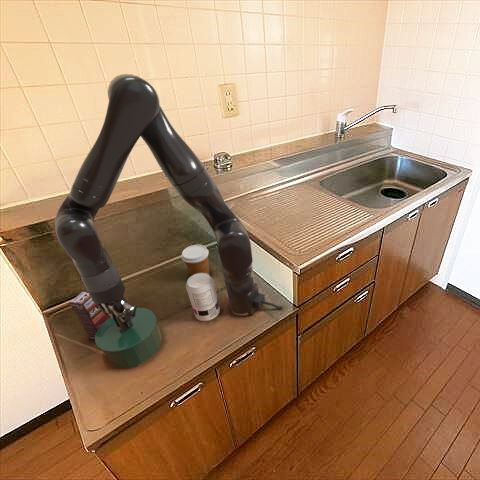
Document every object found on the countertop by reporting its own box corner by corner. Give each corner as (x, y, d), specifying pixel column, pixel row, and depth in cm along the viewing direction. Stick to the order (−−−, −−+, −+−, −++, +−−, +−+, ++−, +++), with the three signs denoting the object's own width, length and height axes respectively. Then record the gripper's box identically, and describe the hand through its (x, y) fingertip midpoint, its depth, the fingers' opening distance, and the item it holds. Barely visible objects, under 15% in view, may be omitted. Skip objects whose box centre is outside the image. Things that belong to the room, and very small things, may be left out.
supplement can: (190, 318, 105) (179, 285, 97) (205, 301, 112) (196, 269, 103) (210, 325, 103) (201, 292, 95) (225, 307, 110) (217, 275, 101)
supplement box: (103, 341, 97) (82, 305, 88) (90, 338, 98) (67, 302, 89) (123, 320, 104) (105, 284, 95) (110, 317, 105) (91, 282, 96)
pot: (172, 335, 100) (165, 317, 95) (136, 375, 88) (126, 357, 84) (136, 322, 104) (127, 305, 99) (96, 359, 92) (85, 341, 88)
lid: (168, 318, 96) (163, 303, 92) (126, 360, 83) (118, 346, 80) (128, 304, 100) (121, 290, 96) (83, 343, 88) (73, 329, 84)
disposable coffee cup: (203, 287, 118) (196, 261, 111) (182, 280, 121) (174, 255, 114) (218, 271, 125) (213, 247, 118) (198, 265, 128) (192, 241, 121)
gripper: (69, 283, 80) (95, 329, 90) (111, 297, 76) (134, 343, 86) (95, 266, 86) (117, 310, 95) (135, 278, 82) (154, 323, 92)
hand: (125, 326), depth 91 cm, fingers closed on lid, 2 cm apart
